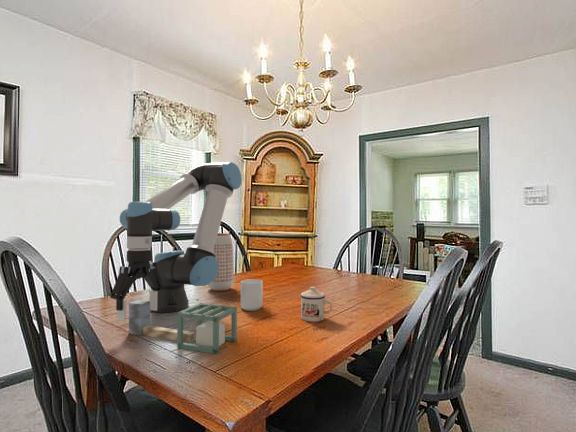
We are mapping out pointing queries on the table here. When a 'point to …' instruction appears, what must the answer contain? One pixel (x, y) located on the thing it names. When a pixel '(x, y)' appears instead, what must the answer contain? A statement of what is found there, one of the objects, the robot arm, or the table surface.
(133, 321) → the mallet
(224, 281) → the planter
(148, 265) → the robot arm
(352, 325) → the table surface
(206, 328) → the block
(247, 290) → the mug
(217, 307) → the tube cage
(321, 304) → the teacup with lid
